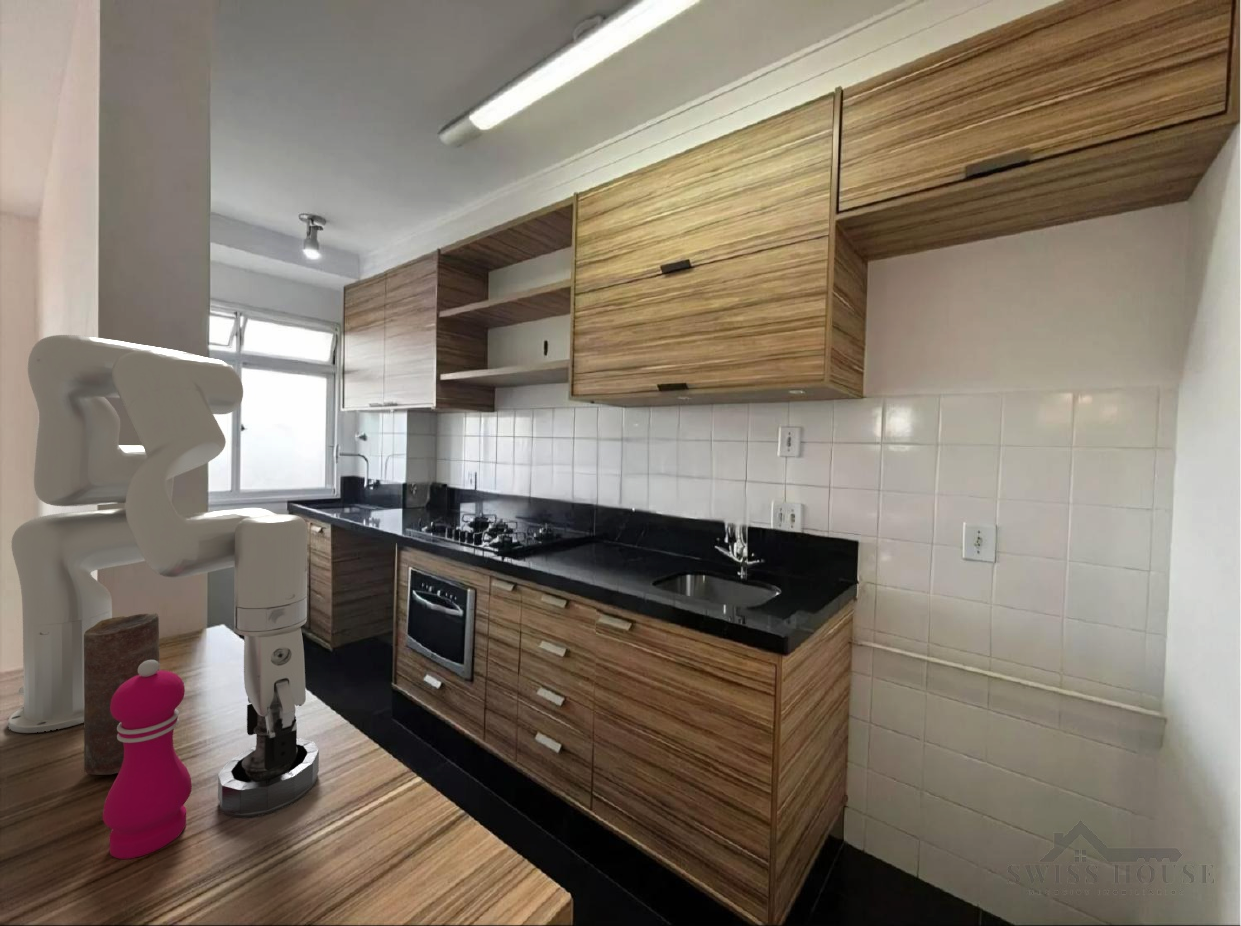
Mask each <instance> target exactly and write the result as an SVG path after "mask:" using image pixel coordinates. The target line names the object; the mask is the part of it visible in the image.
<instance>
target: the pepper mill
mask: <svg viewBox="0 0 1241 926" xmlns="http://www.w3.org/2000/svg"><path fill="white" fill-rule="evenodd" d="M158 670H159V671H158ZM138 674H139V675H137V676H135V677H133V678H131V679H129V680H127V681H126V682H124V683H123V684H122V685H121V686H120V687H119V688H118V689H117V690H116V692H115V693H114V695H113V697H112V700H111V705H110V710H111V714H112V716H113V717H114V718H115V719H116V720H118V721H120V722H121V723H119V725H118V726H117V731H118V735H117V739H118V740H119V741H121V742H123V745H124V760H123V763H122V766H121V769H120V771H119V772H118V773H117V776H116V778H115V780H114V782H113V783H112V785H111V787H110V789H109V791H108V792H107V793H108V794H107V796H106V798H105V802H104V805H103V810H102V820H103V821H102V822H103V823H104V825H105V826H107V827H108V828H109V829H110V830H111V832H110V834H109V845H108V846H109V853H110V855H111V856H112V857H114V858H115V859H116V858H117V859H120V860H123V859H125V860H126V859H128V860H129V859H134V858H139V857H143V856H145V855H149V854H151V853H154V852H155V851H158V850H160V849H162V848H164V847H165V846H167V845H169V844H170V843H172V841H174V840H175V839H176V838H178V837H179V835H181V833H182V832H183V831H184V830H185V828H186V825H187V808H186V806H185V803H186V802H187V801H188V800H189V797H190V795H191V793H192V787H193V786H192V779H191V775H190V772H189V770H188V768H187V767H186V765H185V764H184V763H183V762H182V760H181V759H180V757H179V756H178V755H177V753H176V750H175V747H174V739H173V738H174V729H175V728H176V727H177V726H178V725H179V724H180V723H179V722H180V719H179V715H180V711H179V710H178V709H177V708H178V706H180V704H181V703H182V701H183V700H184V697H185V692H186V689H185V684H184V681H183V679H182V678H181V677H180V676H179V675H178V674H176V673H175V672H172V671H170V670H169V671H168V670H160V662H159V663H158V662H157V661H156V660H147V661H144V662H143V663H142V664H140V666H139V667H138Z"/></svg>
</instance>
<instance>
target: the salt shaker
mask: <svg viewBox="0 0 1241 926" xmlns="http://www.w3.org/2000/svg"><path fill="white" fill-rule="evenodd" d="M276 707H279V705H278V704H275V705H272V706H270V709H272V708H276ZM277 719H280V714H277V715H274V716H273V721H274V725H275V723H276V720H277ZM254 733H255V734H254V735H256V745H255V746H256V749H255V750H254V751H253V752H251V753H250V754H248V755H247V756H246V757H245V758H244V759H243V761H242V767H243V768H244V769H245V773H246V775H247V777H248V778H249V779H250V780H251V781H249V782H248V783H252V782H259V781H267V780H270V779H273V778H276V777H278V776H281V775H284V774H286V773H289V772H290V770H289V769H290V767H291V766H292V763H293V761H292V762H289V763H286V764H284V765H281V766H278V767H276V768H273V769H270V770H266V769H265V767H264V736H267V735H268V733H267V726H266V719H265V717H263V716H261V715H259V714H258V724H257V726H256V727H255V728H254ZM297 751H298V749H297Z"/></svg>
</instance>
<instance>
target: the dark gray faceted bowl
mask: <svg viewBox="0 0 1241 926" xmlns="http://www.w3.org/2000/svg"><path fill="white" fill-rule="evenodd" d="M255 749H256V745H255V746H253V747H250V748H247V749H246V750H244V751H243V752H241V753H239V754H237V755H236V756H235V757H232V758H231V759H230V760H228V761H227V762H226V764H225V765H224V766H223V768H221V770H220V771H219V773H218V774H217V779H218V780H217V798H218V801H219V809H220V810H221V812H222V813H223V814H224V815H226V816H228V817H232V818H236V819H237V818H238V819H249V818H251V819H252V818H256V817H262V816H266V815H269V814H272V813H276V812H278V811H280V810H282V809H285V808H287V807H289V806H291V805H293V804H294V803H297V802H298V801H299V800H300V799H302V798H303V797H304V796H306V795H307V794H308V793H309V792H310V791H311V790H312V789H313V787H314V786H315V784H316V781H317V779H318V774H319V771H320V769H319V768H320V766H319V765H320V759H319V757H320V754H319V753H320V748H318V746H317V745H316V743H315V742H314V741H313V740H309V739H305V738H301V737H299V738H298V737H297V749H298V751H297V757H296V759H295V760H294V761H293V763H292V766H291V767H290V769H289V770H290V772H289V773H286V774H284V775H281V776H278V777H276V778H273V779H270V780H267V781H259V782H252V783H248V782H249V781H251V780H250V779H249V778H248V777H247V775H246V773H245V769H244V768H243V767H242V761H243V759H244V758H245V757H246V756H247V755H248V754H250V753H251V752H253V751H254V750H255Z"/></svg>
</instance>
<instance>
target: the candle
mask: <svg viewBox="0 0 1241 926" xmlns="http://www.w3.org/2000/svg"><path fill="white" fill-rule="evenodd" d="M159 622H160V621H159V614H157V613H155V612H154V613H138V614H132V615H128V616H117V617H112V618H110V619H106V620H101V621H100V622H98V623H97V624H96V625H95V626H94V627H91V628H90V629H88V630H87V631H85V634H84V723H83V736H84V737H83V743H84V745H83V746H84V747H83V754H84V755H83V759H84V760H83V765H84V772H85V773H86V774H87V775H103V776H105V775H106V776H107V775H115V774H119V771H120V769H121V766H122V763H123V760H124V745H123V742H121V741H119V740H118V739H117V735H118V731H117V726H118V725H119V723H121V722H120V721H118V720H116V719H115V718H114V717H113V716H112V714H111V710H110V705H111V700H112V697H113V695H114V693H115V692H116V690H117V689H118V688H119V687H120V686H121V685H122V684H123V683H124V682H126V681H127V680H129V679H131V678H133V677H135V676H137V675H139V674H138V667H139V666H140V664H142V663H143V662H144V661H147V660H156V661H157V662H158V663H159V664H160V643H159V642H160V628H159V627H160V626H159V624H160V623H159ZM158 671H160V669H159V670H158Z"/></svg>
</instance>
